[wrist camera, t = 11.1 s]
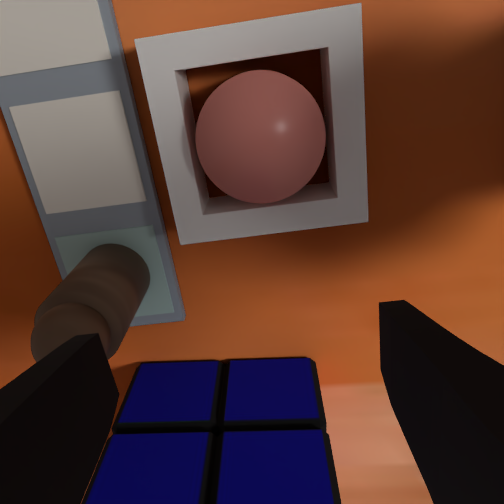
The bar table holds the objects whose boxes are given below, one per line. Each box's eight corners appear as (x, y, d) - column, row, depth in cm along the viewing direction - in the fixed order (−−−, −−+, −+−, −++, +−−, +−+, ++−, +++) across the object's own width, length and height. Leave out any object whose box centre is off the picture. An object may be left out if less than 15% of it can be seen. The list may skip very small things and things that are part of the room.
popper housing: (348, 10, 17) (361, 2, 15) (356, 203, 20) (368, 221, 18) (150, 42, 18) (134, 39, 15) (189, 225, 21) (180, 245, 18)
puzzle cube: (315, 353, 24) (348, 536, 15) (314, 479, 28) (340, 684, 19) (136, 359, 24) (60, 540, 15) (161, 483, 28) (114, 685, 19)
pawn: (141, 239, 20) (89, 316, 14) (156, 301, 22) (115, 396, 16) (72, 247, 21) (-9, 327, 14) (92, 308, 22) (25, 404, 16)
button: (311, 60, 17) (320, 60, 15) (320, 176, 19) (330, 195, 17) (195, 78, 18) (183, 81, 15) (215, 190, 20) (208, 210, 17)
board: (86, -104, 16) (80, -110, 15) (185, 315, 23) (183, 321, 22) (-58, -77, 16) (-69, -82, 15) (84, 326, 23) (80, 332, 23)
